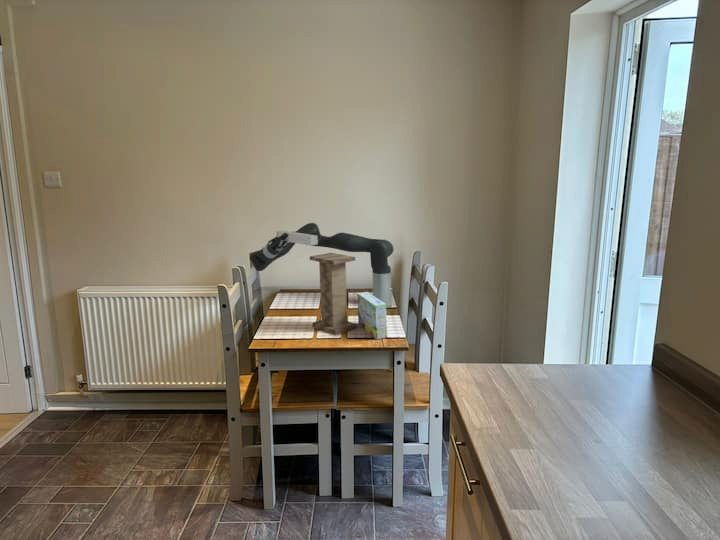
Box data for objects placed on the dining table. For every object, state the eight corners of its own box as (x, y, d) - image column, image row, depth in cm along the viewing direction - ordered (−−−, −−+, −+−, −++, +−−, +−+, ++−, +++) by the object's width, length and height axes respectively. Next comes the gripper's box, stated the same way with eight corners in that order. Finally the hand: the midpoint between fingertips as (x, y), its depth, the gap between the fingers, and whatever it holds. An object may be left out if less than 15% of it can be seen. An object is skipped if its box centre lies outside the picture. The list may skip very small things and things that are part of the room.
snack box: (357, 325, 217) (356, 292, 213) (368, 323, 219) (368, 291, 215) (375, 340, 197) (375, 305, 194) (387, 338, 199) (387, 303, 196)
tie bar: (276, 239, 231) (276, 231, 230) (283, 238, 234) (283, 230, 233) (310, 245, 213) (310, 236, 212) (317, 244, 216) (317, 235, 215)
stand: (312, 326, 215) (309, 256, 208) (332, 320, 223) (330, 252, 216) (336, 335, 204) (333, 261, 197) (356, 328, 212) (355, 256, 205)
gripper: (258, 243, 234) (275, 228, 222) (282, 239, 244) (299, 225, 231) (263, 257, 233) (280, 242, 220) (287, 253, 242) (305, 239, 230)
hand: (290, 233), depth 226 cm, fingers closed on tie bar, 4 cm apart
